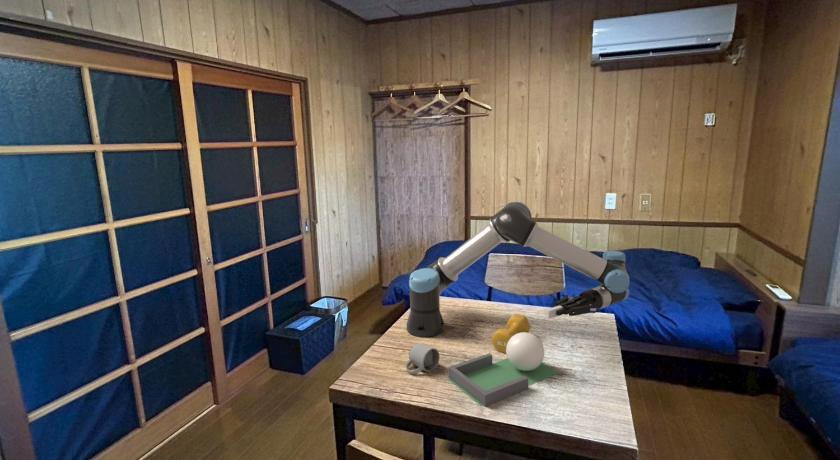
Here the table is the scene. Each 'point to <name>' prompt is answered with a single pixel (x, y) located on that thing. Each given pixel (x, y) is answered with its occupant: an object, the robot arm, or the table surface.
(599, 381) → the table surface
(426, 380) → the table surface
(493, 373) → the green mat
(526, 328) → the dumbbell
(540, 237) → the robot arm
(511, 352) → the ball
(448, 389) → the table surface
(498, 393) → the grey open tray
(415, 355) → the ceramic mug
